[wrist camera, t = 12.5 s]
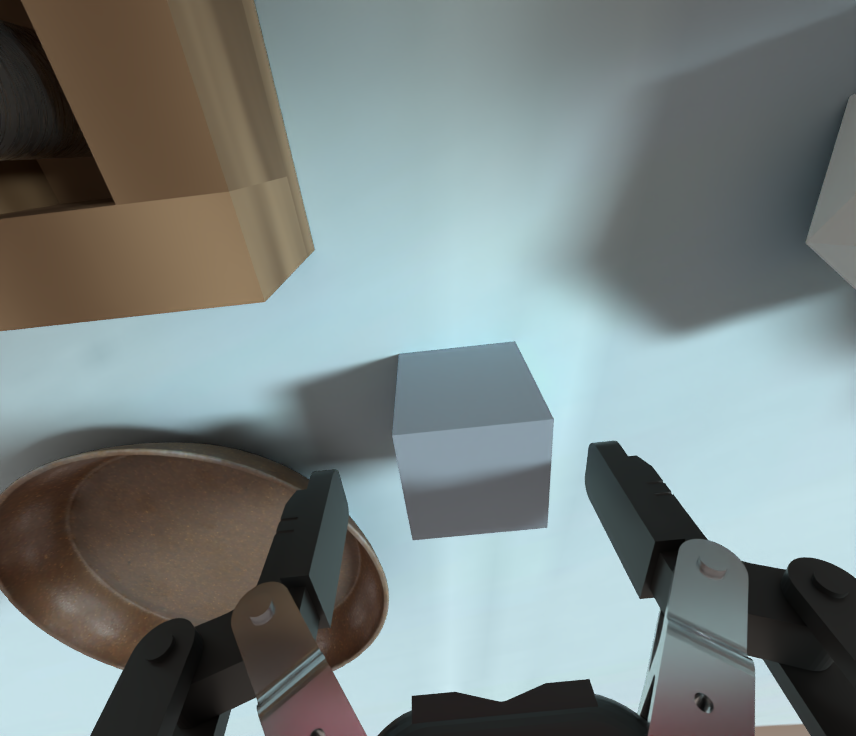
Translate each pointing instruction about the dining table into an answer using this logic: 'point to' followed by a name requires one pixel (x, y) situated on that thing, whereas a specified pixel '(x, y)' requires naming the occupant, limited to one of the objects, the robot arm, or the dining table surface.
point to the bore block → (151, 167)
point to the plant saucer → (162, 546)
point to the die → (838, 203)
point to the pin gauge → (33, 102)
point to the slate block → (471, 441)
